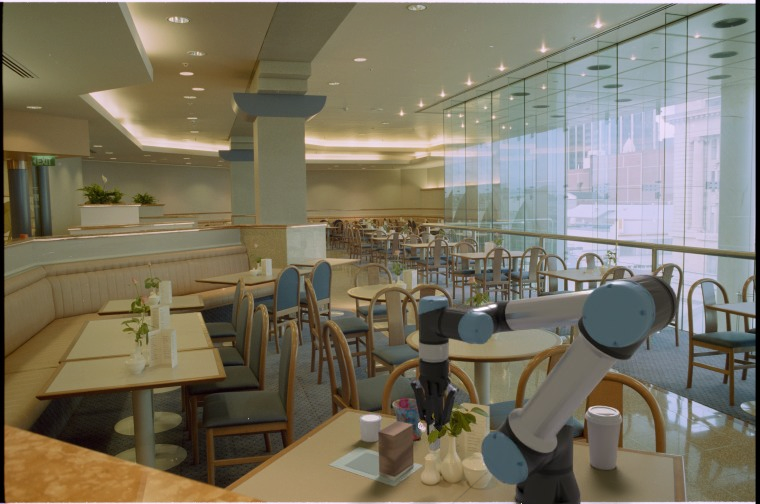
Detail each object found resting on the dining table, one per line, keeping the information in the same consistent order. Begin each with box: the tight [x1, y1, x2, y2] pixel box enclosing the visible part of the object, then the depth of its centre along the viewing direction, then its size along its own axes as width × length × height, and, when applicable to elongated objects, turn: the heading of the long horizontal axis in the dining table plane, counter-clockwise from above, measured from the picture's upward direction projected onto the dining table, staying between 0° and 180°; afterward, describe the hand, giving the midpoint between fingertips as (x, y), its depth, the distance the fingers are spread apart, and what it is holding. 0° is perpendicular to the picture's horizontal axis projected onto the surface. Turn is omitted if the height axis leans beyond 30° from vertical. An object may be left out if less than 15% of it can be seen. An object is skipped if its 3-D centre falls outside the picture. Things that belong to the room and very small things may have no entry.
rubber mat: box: [328, 446, 424, 487], centre depth 162 cm, size 22×14×1 cm, turn 54°
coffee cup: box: [584, 405, 623, 471], centre depth 160 cm, size 10×10×15 cm
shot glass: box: [358, 413, 382, 443], centre depth 180 cm, size 7×7×7 cm
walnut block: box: [378, 420, 415, 481], centre depth 157 cm, size 5×9×12 cm, turn 144°
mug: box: [392, 398, 422, 441], centre depth 181 cm, size 12×9×11 cm
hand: (434, 448), depth 150 cm, fingers closed
